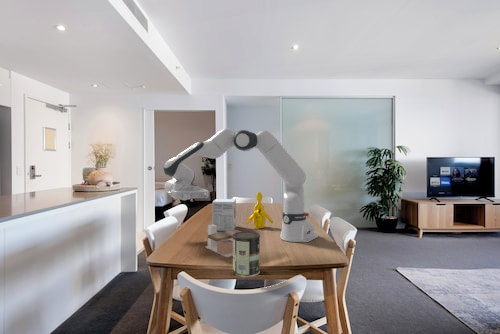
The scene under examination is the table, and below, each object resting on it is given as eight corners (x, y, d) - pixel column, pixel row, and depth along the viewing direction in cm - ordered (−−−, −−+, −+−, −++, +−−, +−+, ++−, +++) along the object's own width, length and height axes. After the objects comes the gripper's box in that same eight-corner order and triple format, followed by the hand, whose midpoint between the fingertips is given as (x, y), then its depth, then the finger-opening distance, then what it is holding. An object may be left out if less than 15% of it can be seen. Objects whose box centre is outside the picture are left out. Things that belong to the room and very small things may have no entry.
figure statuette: (246, 229, 167) (246, 193, 167) (244, 226, 175) (245, 191, 174) (274, 228, 169) (274, 193, 168) (272, 225, 177) (272, 191, 176)
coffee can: (256, 265, 108) (257, 230, 108) (262, 276, 98) (262, 237, 98) (231, 267, 107) (231, 231, 106) (233, 278, 96) (234, 239, 96)
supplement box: (233, 231, 162) (233, 202, 161) (211, 230, 163) (211, 201, 162) (236, 226, 175) (236, 198, 175) (216, 225, 176) (216, 198, 175)
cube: (226, 249, 123) (226, 238, 123) (232, 252, 119) (233, 241, 119) (217, 252, 120) (217, 240, 120) (223, 255, 116) (223, 243, 116)
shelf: (235, 250, 127) (235, 229, 127) (244, 254, 122) (244, 232, 122) (207, 257, 118) (207, 235, 117) (216, 261, 112) (216, 238, 112)
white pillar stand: (215, 246, 131) (215, 223, 131) (238, 256, 118) (238, 231, 117) (204, 249, 127) (204, 225, 127) (226, 260, 114) (226, 233, 113)
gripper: (166, 185, 137) (181, 191, 127) (200, 185, 151) (215, 190, 142) (165, 198, 137) (179, 204, 128) (199, 196, 152) (214, 202, 142)
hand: (198, 196), depth 135 cm, fingers open, 8 cm apart
